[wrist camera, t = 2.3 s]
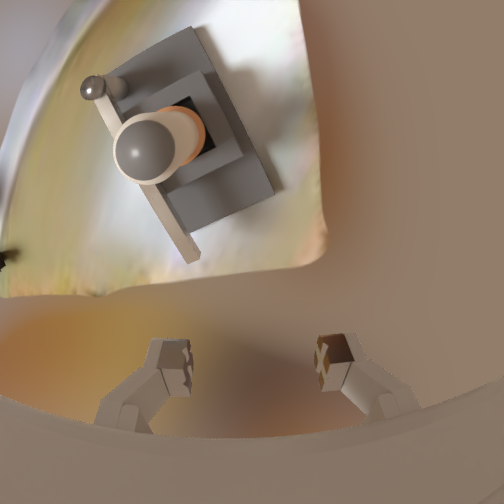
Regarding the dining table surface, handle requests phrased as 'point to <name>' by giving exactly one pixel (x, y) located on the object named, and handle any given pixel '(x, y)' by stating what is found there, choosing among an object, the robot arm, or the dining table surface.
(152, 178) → the plug
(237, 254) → the dining table surface
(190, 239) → the ball-tipped lever
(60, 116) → the dining table surface
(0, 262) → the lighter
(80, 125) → the dining table surface
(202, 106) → the socket block
